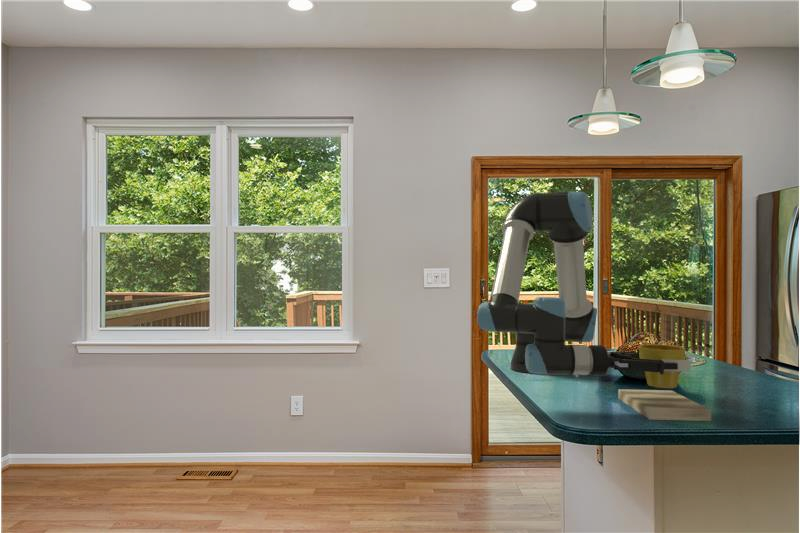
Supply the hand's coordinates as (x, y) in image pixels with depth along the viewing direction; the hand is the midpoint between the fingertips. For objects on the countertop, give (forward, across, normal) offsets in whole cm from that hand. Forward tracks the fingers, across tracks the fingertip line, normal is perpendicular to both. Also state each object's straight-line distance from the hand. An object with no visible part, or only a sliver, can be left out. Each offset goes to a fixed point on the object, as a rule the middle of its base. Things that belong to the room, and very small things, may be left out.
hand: (678, 362), depth 132 cm
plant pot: (-4, 0, -6) cm, 7 cm away
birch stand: (-4, 0, -12) cm, 13 cm away
